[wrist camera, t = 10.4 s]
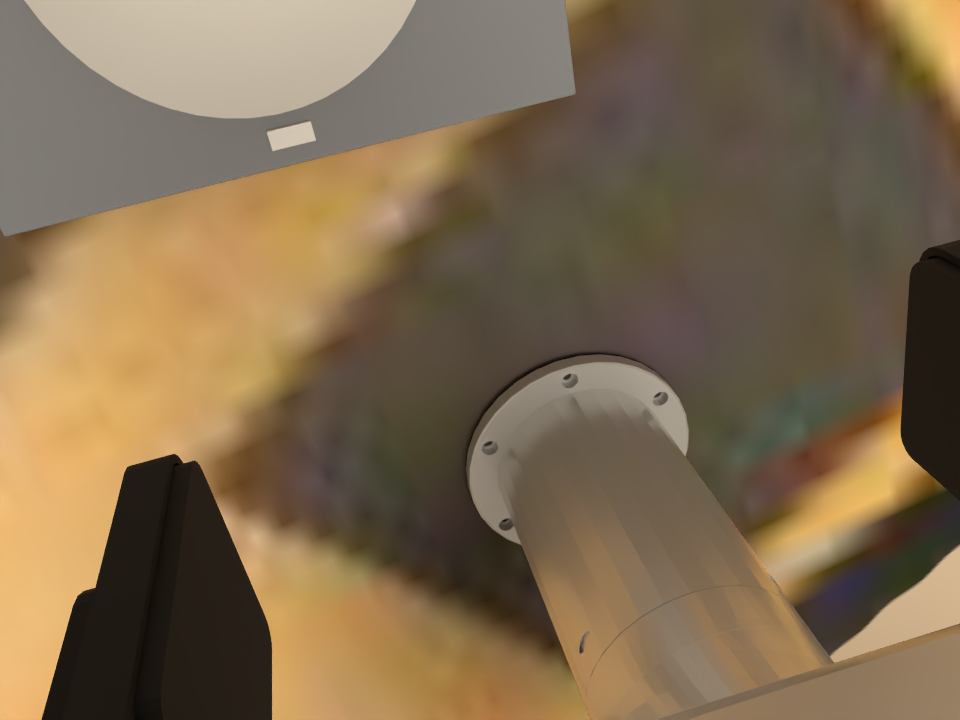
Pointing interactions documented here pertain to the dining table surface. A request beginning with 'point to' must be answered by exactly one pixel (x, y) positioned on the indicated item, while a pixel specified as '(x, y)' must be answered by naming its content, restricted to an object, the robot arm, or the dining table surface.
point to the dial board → (262, 140)
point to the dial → (226, 48)
